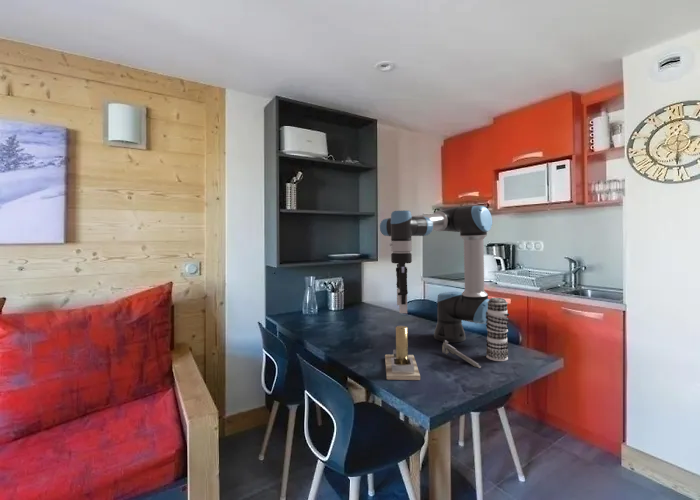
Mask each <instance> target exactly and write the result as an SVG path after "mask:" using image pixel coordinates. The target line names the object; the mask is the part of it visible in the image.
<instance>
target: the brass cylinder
mask: <svg viewBox="0 0 700 500" xmlns="http://www.w3.org/2000/svg"><path fill="white" fill-rule="evenodd" d="M408 329H409V328H408V326H406V325H397V326H395V350H396V364H404V365H408V355H409V344H408V343H409V339H408V338H409V335H408V334H409V333H408Z"/></svg>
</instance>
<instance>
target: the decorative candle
mask: <svg viewBox="0 0 700 500" xmlns="http://www.w3.org/2000/svg"><path fill="white" fill-rule="evenodd" d="M489 299H490V300H489V301H487V302H488V308H487V312H486V315H487V316H486V319H487V320H486V323H485V324H486V325H485V326H486V327H485V328H486V331H487V337H486V344H485V345H486V348H485V350H486V351H485V353H486V355H485V356H486V358H487V359H488V360H491V361H495V362H505V361H508V360H509V357H508V356H509V349H508V348H509V346H508V344H509V342H508V332H509V327H508V326H507V325H509V324H510V323H509V322H508V321H509V320H510V318H508V316H510V313H508V304H509V302H508V301H507V300H506V299H505V298H502V297H492V298H491V297H490V298H489Z"/></svg>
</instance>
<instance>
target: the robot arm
mask: <svg viewBox="0 0 700 500" xmlns="http://www.w3.org/2000/svg"><path fill="white" fill-rule="evenodd" d="M390 214H391V215H390V217H388V218H384V219H382V220H381V222H380V224H379V229H380V230H379V231H380V233H381V235H383V236H385V237H390V241H391V243H389V247H391V249H390V251H391V252H392V253H391V255H390V257H391V260H390V261H391V263H392V264H396V267H395V273H396V284H395V285H396V305H397V306H399V311H398V312H399V314H408V293H409V291H408V267H407V266H406V264H411V263H412V261H413V260H412V258H413V257H412V255H413V254H412V253H411V252H412V251H413V247H412V246H413V245H412V237H425V236H428V235H431V233H432V231H436V232H454V233H460V234H459V237H460V238H461V239H463V262H464V263H463V266H464V267H463V271H464V291H462V292H461V291H445V292H441V293H439V294H438V295H437V301H436V303H437V323H436V327H435V329H434V332H433V338H434V339H435V340H436V341H440V342H444V341H445V340H447V342H448V343H462V342H464V341H466V333H465V332H466V331H465V330H464V326H463V324H462V322H463V321H464V322H469V323H474V324H479V325H481V324H482V325H484V324H487V323H486V320H487V319H486V316H487V315H486V312H487V308H488V302H487V301H489V300H490V299H491V298H489V294H488V293H487V292H486V291H485V260H484V259H485V257H484V252H485V251H484V239H485V238H486V237H487V236H488V232H489V231H491V230H492V226H493V218H492V214H491V211H490V210H489V209H488V207H486V206H483V205H472V206H461V207H453V208H452V207H451V208H448V209H443V210H438V211H434V212H433V213H429V214H418V215H412V211H411V210H403V209H402V210H393V211H392V212H391V213H390Z"/></svg>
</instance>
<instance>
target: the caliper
mask: <svg viewBox="0 0 700 500" xmlns="http://www.w3.org/2000/svg"><path fill="white" fill-rule="evenodd" d="M442 342H443V341H442ZM441 347H442V348H441V350H442V354H444V355H449V353H451V354H452V355H456V356H458V357H460V358H461V359H462V360H464V361H465V362H466V363H469V364H470V365H471V366H474V367H475V368H478V369H481V368H482V366H481V365H480V364H479V362H477V361H475V360H473V359H472V358H470V357H469V356H468V355H465V354H463V353H462V352H460V351H459V350H457V348H455V347H454V346H452V345H451V344H449V342H447V340H445V341H444V342H443V343H442V345H441Z"/></svg>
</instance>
